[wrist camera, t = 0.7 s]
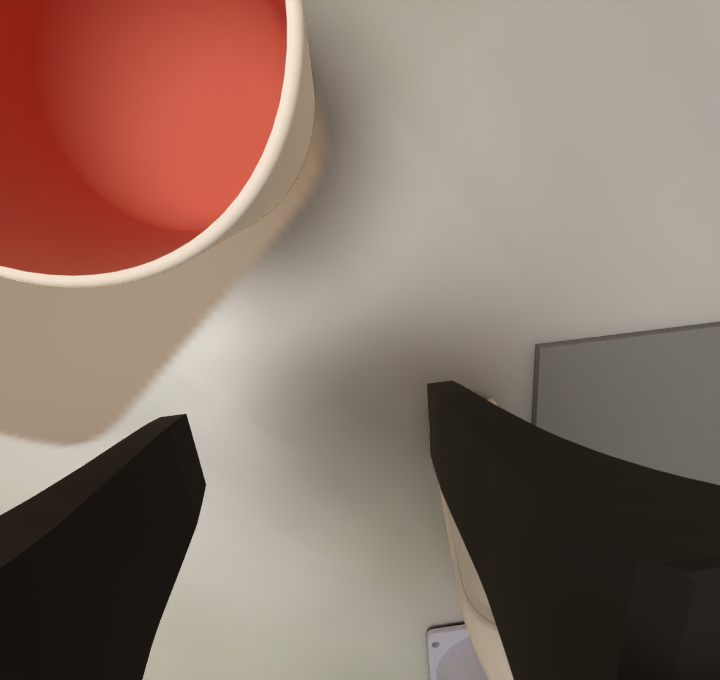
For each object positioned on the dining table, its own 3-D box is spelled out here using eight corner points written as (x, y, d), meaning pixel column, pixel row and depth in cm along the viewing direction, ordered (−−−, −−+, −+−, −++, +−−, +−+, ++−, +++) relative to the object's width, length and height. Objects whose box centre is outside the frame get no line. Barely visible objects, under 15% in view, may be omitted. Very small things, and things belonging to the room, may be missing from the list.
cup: (336, 213, 19) (347, 244, 9) (109, 254, 18) (-114, 327, 9) (283, -78, 15) (215, -505, 6) (2, -29, 15) (-540, -385, 6)
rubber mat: (729, 549, 28) (736, 555, 27) (524, 578, 27) (527, 585, 27) (792, 313, 22) (802, 315, 21) (535, 344, 21) (540, 348, 21)
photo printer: (553, 524, 25) (699, 833, 13) (482, 545, 26) (562, 851, 14) (495, 380, 21) (624, 630, 10) (415, 410, 22) (451, 670, 11)
